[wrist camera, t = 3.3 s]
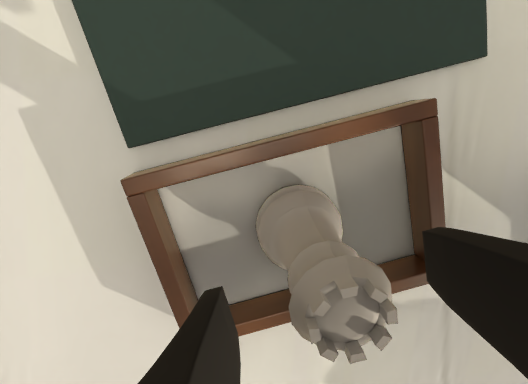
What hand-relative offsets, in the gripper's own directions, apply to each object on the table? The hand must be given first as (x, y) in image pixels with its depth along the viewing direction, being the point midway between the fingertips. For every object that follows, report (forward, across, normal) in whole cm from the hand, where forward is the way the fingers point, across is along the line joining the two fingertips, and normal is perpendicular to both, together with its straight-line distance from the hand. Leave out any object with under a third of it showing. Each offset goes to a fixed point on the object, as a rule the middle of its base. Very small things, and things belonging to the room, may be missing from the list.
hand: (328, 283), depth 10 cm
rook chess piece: (+6, 0, 0) cm, 6 cm away
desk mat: (+6, -2, -10) cm, 11 cm away
